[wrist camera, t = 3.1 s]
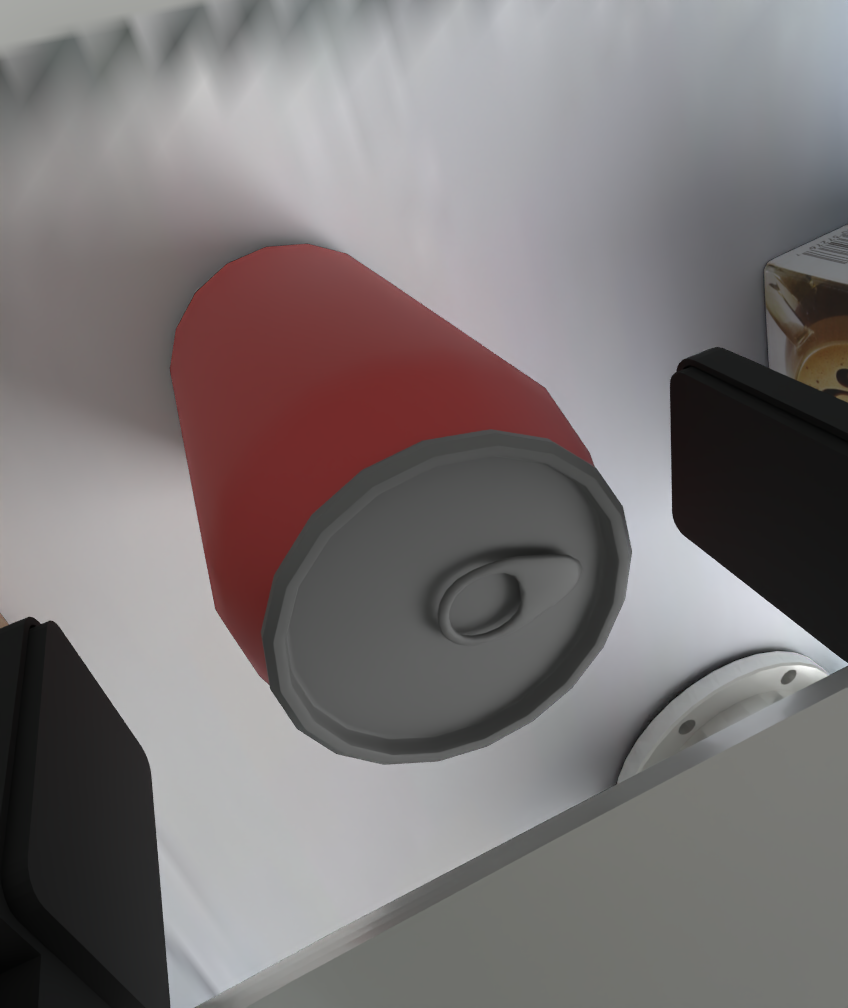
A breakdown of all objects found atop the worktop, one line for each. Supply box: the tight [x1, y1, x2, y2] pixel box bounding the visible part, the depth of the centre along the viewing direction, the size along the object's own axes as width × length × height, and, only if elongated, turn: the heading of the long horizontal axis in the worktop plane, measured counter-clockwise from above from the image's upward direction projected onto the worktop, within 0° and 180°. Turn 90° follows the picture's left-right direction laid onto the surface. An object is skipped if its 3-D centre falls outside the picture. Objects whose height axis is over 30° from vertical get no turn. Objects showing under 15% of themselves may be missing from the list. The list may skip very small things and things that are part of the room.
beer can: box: [170, 244, 632, 765], centre depth 15 cm, size 7×7×12 cm
